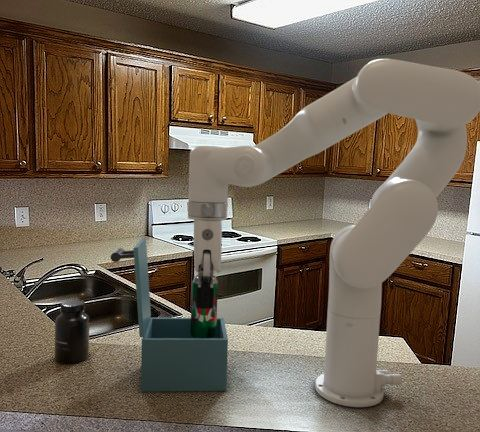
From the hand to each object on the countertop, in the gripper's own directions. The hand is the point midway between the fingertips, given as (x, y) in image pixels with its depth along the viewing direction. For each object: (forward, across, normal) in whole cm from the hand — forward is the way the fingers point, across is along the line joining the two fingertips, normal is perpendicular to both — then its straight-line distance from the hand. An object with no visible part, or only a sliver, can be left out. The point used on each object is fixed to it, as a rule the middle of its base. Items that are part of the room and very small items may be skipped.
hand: (204, 302), depth 88 cm
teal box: (+15, 0, +3) cm, 15 cm away
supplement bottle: (+15, +9, +27) cm, 33 cm away
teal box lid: (-4, 0, +12) cm, 12 cm away
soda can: (+7, 0, 0) cm, 7 cm away
